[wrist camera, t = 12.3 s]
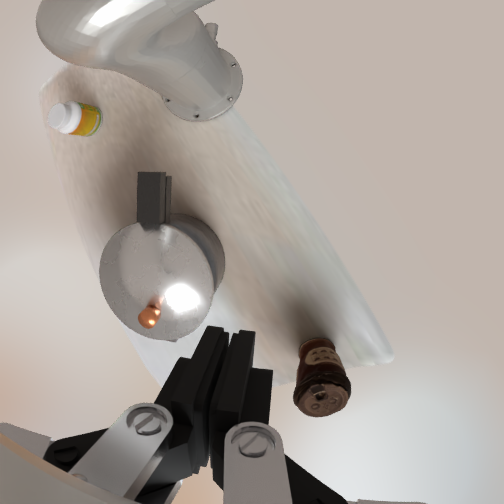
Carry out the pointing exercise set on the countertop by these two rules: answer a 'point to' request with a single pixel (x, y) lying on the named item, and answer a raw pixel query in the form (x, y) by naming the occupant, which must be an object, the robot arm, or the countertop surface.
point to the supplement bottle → (75, 118)
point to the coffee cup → (320, 380)
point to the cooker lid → (156, 270)
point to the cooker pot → (197, 237)
